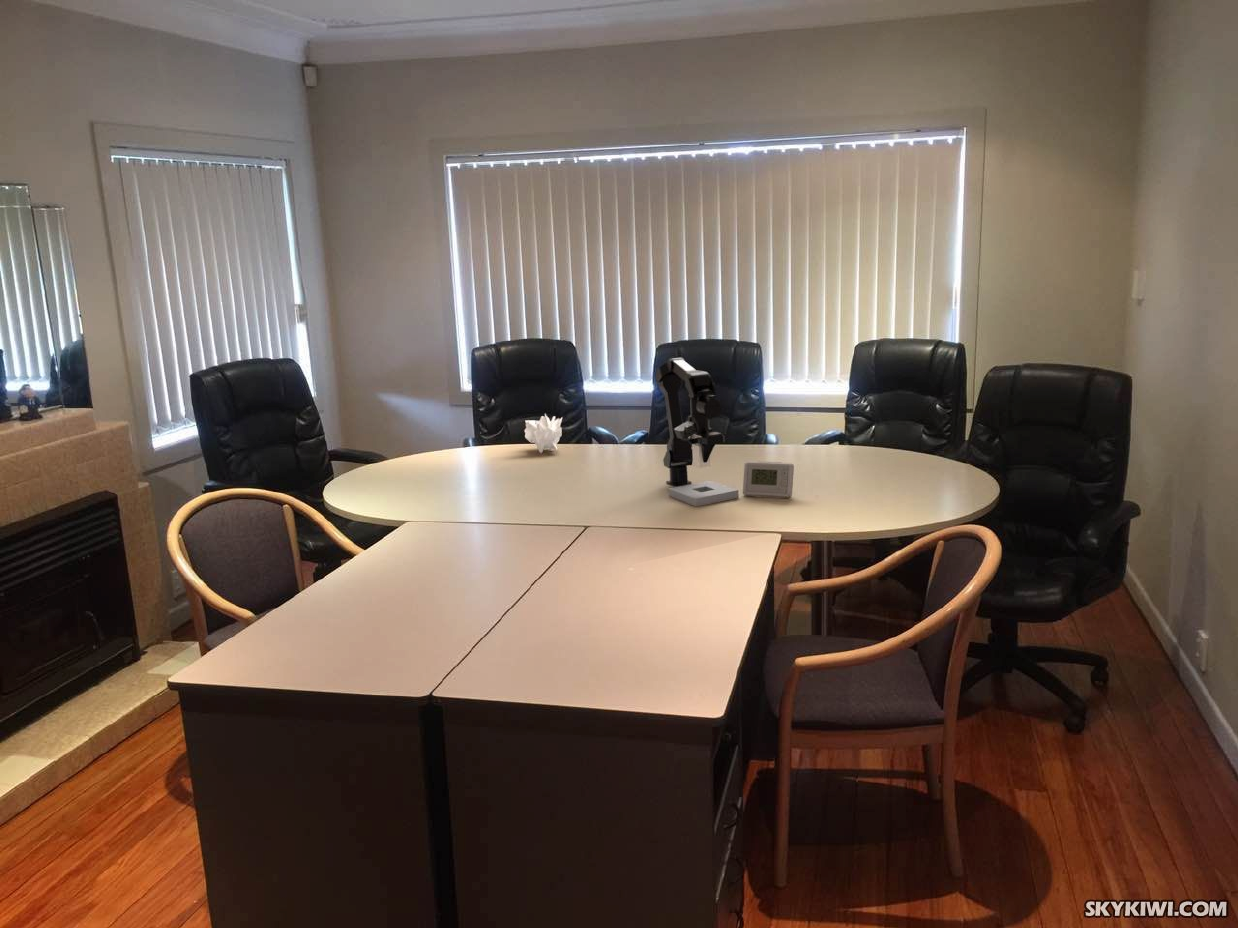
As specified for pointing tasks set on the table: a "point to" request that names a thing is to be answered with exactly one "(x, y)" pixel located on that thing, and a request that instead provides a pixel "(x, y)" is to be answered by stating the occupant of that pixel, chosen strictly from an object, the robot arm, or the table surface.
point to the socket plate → (703, 493)
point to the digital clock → (768, 479)
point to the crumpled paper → (544, 433)
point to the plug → (699, 456)
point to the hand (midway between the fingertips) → (701, 461)
